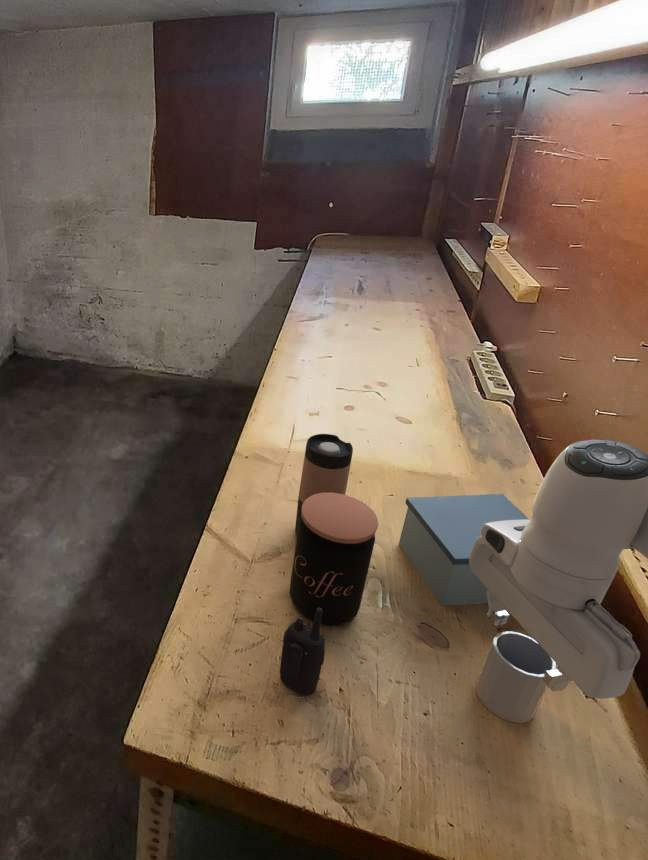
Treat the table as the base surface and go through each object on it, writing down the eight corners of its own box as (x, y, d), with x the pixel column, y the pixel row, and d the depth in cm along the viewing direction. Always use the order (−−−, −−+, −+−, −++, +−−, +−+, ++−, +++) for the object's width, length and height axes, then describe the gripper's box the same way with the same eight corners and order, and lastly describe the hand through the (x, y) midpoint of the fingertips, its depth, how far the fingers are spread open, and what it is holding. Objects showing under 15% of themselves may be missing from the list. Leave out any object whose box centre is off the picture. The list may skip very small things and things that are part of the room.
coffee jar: (275, 603, 91) (287, 515, 83) (308, 567, 97) (321, 483, 89) (339, 642, 84) (359, 550, 76) (369, 601, 90) (390, 513, 82)
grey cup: (522, 681, 77) (542, 636, 73) (543, 727, 72) (566, 681, 68) (469, 672, 79) (485, 627, 75) (485, 716, 73) (504, 671, 69)
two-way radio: (321, 686, 78) (337, 608, 71) (307, 709, 75) (322, 631, 68) (284, 663, 81) (295, 587, 74) (269, 684, 78) (280, 607, 71)
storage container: (487, 538, 102) (502, 493, 98) (545, 603, 89) (566, 554, 84) (395, 542, 102) (406, 497, 98) (439, 607, 89) (455, 559, 84)
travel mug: (294, 546, 102) (307, 454, 93) (292, 519, 109) (304, 431, 100) (339, 552, 100) (357, 459, 91) (334, 524, 107) (350, 435, 98)
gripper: (673, 643, 56) (620, 729, 62) (518, 511, 74) (489, 587, 80) (615, 650, 55) (568, 736, 62) (473, 515, 74) (447, 592, 80)
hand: (522, 651), depth 71 cm, fingers open, 8 cm apart
